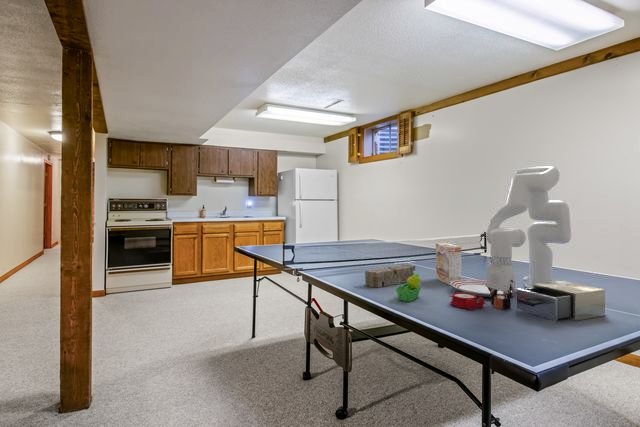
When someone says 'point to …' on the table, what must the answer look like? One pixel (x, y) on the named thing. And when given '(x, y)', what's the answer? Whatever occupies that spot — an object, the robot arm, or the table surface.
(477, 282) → the dinner plate
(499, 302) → the orange glossy cylinder
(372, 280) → the block tower
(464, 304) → the alarm clock
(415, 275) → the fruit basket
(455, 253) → the coffeecake box
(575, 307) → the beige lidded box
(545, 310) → the handled box
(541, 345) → the table surface
